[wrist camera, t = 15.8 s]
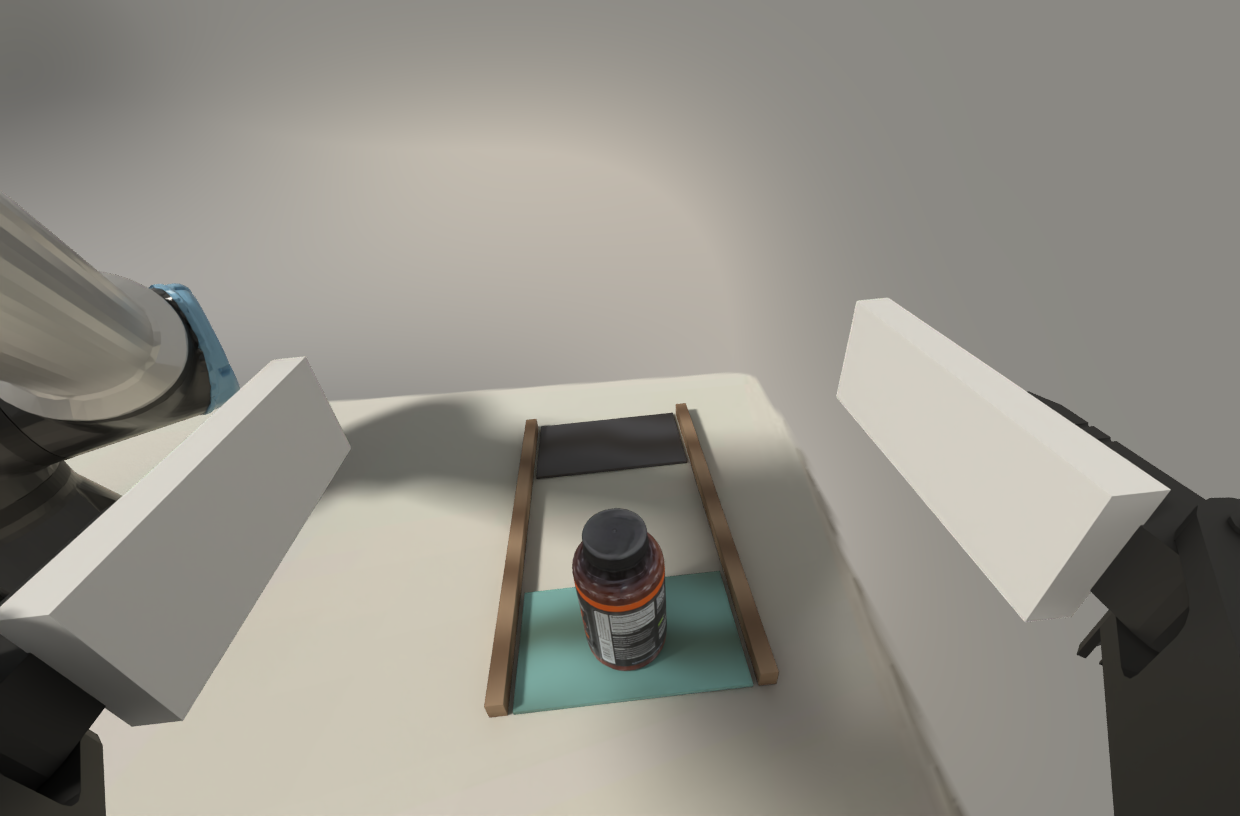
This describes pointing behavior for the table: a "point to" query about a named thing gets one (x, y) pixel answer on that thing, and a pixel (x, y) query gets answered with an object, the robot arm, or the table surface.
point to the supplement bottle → (621, 589)
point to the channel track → (695, 603)
